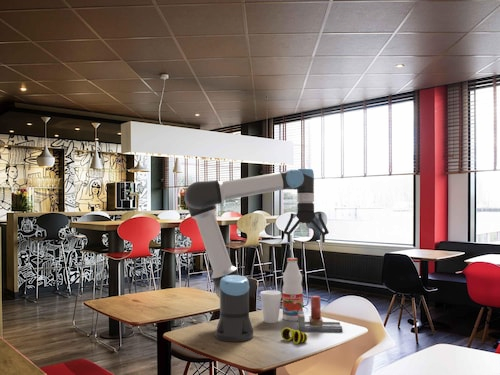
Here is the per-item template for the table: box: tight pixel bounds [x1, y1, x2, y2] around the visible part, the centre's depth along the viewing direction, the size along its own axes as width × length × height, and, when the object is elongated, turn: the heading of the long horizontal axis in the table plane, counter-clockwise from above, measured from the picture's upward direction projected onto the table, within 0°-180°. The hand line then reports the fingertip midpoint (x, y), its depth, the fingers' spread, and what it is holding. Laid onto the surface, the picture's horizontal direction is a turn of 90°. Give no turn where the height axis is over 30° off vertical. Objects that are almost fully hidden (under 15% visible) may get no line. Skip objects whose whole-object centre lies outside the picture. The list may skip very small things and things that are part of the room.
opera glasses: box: [280, 326, 309, 345], centre depth 165 cm, size 10×5×5 cm, turn 42°
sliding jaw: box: [308, 295, 324, 325], centre depth 183 cm, size 5×8×11 cm, turn 176°
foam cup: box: [260, 290, 282, 324], centre depth 195 cm, size 10×9×13 cm
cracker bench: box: [297, 311, 343, 333], centre depth 182 cm, size 18×10×6 cm, turn 86°
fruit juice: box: [281, 257, 304, 322], centre depth 200 cm, size 9×9×28 cm
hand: (306, 249), depth 192 cm, fingers open, 13 cm apart
